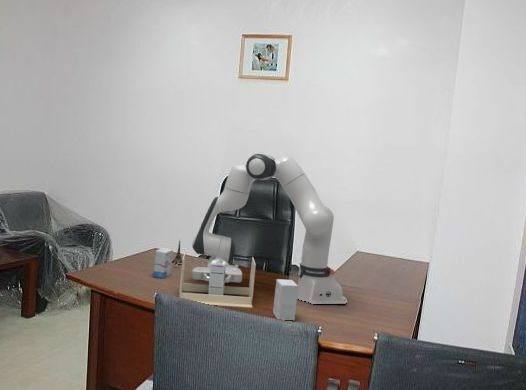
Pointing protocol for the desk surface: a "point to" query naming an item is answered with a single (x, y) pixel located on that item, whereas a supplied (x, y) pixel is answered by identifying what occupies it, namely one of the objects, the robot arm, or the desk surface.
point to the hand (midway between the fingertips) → (217, 280)
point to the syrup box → (217, 277)
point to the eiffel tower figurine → (177, 257)
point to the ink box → (162, 262)
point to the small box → (285, 299)
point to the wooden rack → (219, 299)
